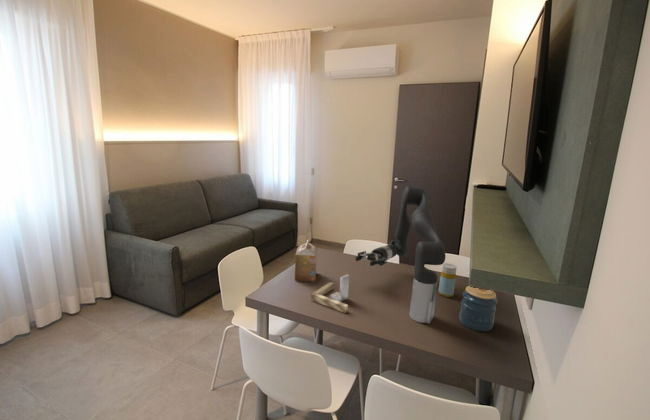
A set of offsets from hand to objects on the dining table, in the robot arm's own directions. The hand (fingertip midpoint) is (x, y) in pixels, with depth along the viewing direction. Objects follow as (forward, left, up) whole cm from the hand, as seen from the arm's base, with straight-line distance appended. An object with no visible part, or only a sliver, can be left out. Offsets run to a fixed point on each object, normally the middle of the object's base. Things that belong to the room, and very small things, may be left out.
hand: (363, 261), depth 149 cm
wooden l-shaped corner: (+5, +14, -16) cm, 22 cm away
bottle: (-35, -24, -16) cm, 45 cm away
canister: (-51, -5, -16) cm, 53 cm away
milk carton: (+31, +3, -16) cm, 35 cm away
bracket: (+5, +12, -16) cm, 21 cm away
